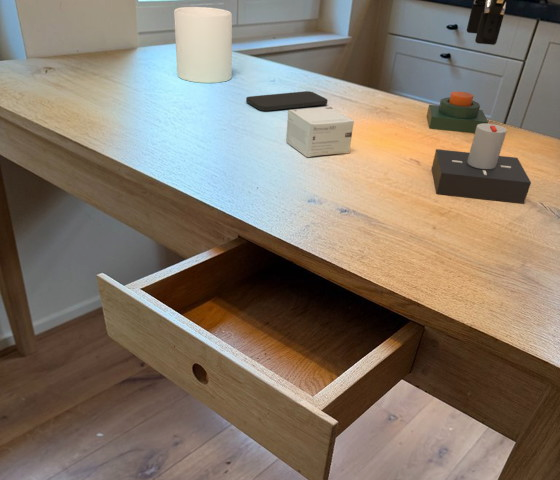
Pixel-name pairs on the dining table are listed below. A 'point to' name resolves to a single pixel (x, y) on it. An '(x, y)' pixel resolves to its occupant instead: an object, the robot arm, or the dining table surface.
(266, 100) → the phone
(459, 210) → the dining table surface
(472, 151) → the knob
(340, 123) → the small box
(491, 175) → the control panel
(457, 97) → the button
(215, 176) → the dining table surface
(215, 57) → the cup
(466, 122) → the button block
